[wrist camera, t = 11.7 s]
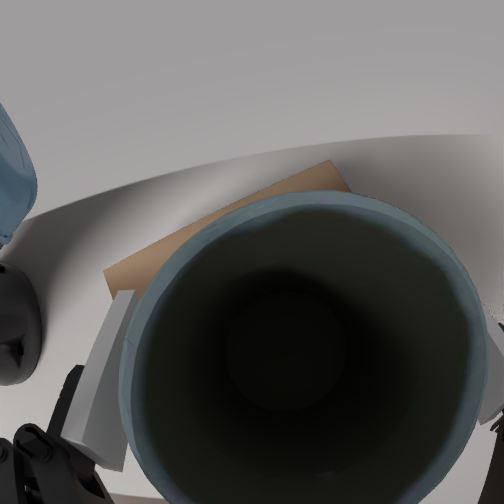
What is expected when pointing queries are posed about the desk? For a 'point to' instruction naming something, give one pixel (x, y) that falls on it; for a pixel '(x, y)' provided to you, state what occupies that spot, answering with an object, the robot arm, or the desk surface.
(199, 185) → the desk surface
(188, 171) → the desk surface
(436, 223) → the desk surface
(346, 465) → the teal plant pot
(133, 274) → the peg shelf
